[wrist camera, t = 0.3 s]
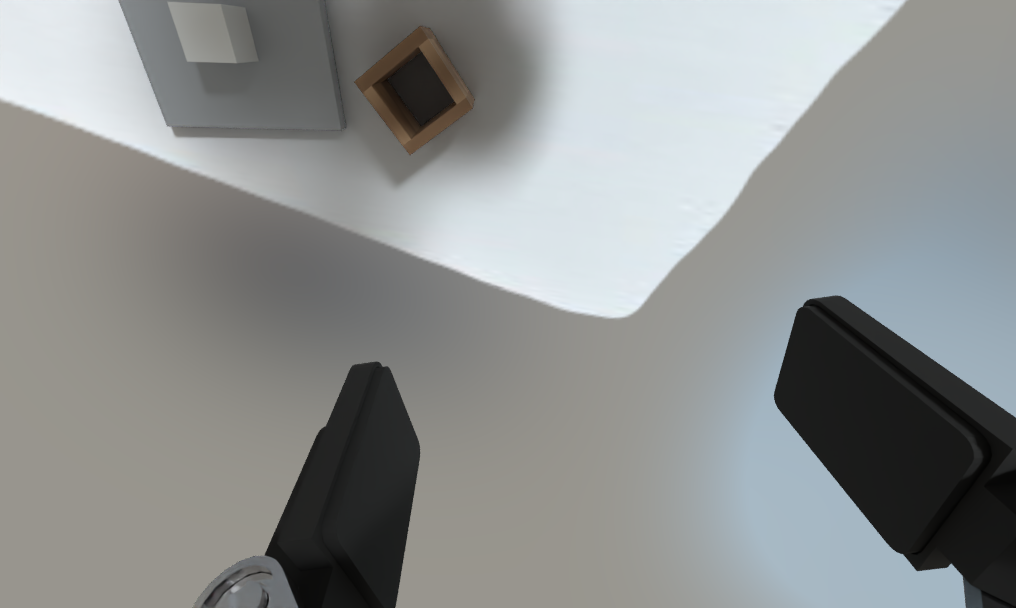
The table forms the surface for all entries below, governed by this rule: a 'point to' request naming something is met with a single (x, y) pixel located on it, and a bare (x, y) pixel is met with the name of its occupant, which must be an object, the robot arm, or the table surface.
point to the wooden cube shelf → (392, 105)
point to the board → (244, 84)
